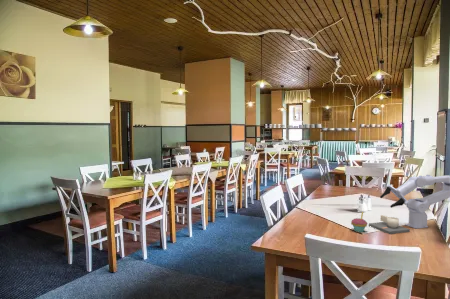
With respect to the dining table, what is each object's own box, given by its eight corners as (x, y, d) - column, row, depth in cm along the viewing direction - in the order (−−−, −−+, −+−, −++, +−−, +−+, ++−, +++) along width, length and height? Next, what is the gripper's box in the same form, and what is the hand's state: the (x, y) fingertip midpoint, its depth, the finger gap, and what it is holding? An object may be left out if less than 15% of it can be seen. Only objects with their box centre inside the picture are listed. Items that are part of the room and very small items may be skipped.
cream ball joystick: (401, 225, 180) (401, 219, 180) (392, 226, 179) (392, 220, 178) (385, 220, 191) (385, 214, 191) (377, 221, 190) (377, 215, 189)
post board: (387, 223, 194) (387, 219, 194) (409, 231, 179) (409, 227, 178) (368, 225, 190) (368, 221, 190) (389, 234, 175) (389, 229, 174)
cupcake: (369, 230, 181) (370, 210, 180) (363, 234, 175) (364, 213, 174) (354, 227, 187) (355, 207, 186) (348, 230, 181) (348, 210, 180)
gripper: (395, 177, 188) (377, 189, 186) (415, 195, 178) (396, 208, 177) (394, 183, 193) (376, 195, 192) (413, 201, 184) (394, 213, 183)
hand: (385, 201), depth 185 cm, fingers open, 7 cm apart
